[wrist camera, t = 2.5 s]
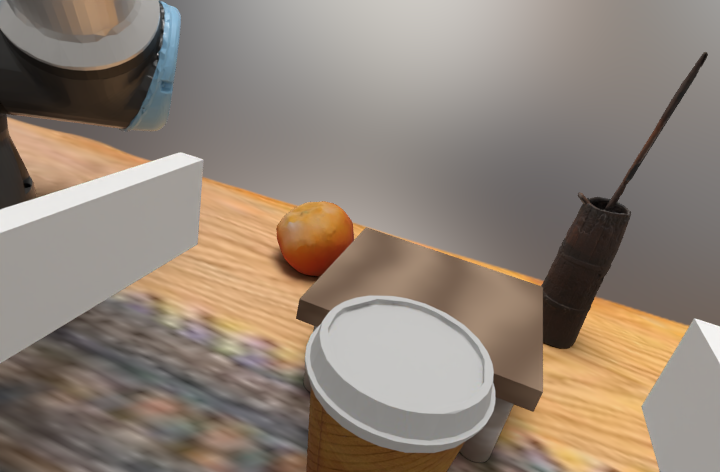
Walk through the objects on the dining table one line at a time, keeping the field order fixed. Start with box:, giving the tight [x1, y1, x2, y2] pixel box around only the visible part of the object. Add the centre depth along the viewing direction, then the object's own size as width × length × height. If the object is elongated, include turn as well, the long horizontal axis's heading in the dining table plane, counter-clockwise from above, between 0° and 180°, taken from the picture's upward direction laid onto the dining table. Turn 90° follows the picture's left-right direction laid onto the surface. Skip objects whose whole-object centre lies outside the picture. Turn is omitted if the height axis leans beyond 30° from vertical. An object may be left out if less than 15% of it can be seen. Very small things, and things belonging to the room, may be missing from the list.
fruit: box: [276, 201, 354, 276], centre depth 52 cm, size 8×8×8 cm
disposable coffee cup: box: [305, 296, 495, 472], centre depth 27 cm, size 10×10×12 cm
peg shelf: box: [296, 228, 543, 463], centre depth 39 cm, size 16×14×8 cm
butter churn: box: [541, 52, 708, 348], centre depth 45 cm, size 9×10×28 cm
